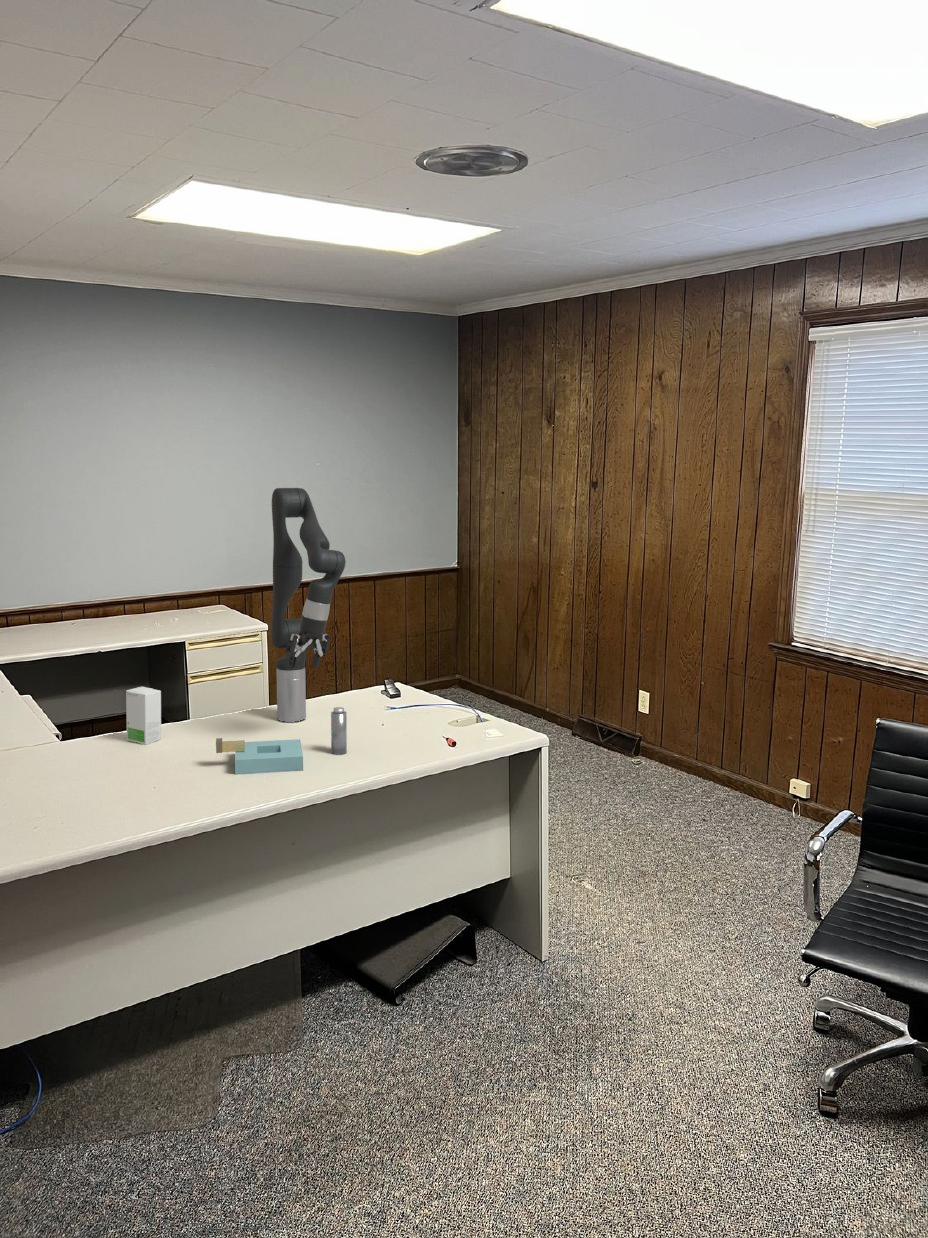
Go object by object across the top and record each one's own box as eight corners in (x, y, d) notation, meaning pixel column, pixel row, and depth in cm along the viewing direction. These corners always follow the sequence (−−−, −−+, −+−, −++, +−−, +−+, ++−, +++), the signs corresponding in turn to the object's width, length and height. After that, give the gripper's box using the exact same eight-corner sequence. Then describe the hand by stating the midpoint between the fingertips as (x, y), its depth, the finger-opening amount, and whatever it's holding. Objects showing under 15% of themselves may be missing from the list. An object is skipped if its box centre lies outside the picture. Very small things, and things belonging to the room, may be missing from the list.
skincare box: (126, 741, 271) (123, 690, 268) (143, 735, 277) (141, 685, 274) (146, 745, 267) (144, 694, 265) (163, 739, 273) (161, 689, 270)
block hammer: (216, 749, 251) (216, 738, 250) (244, 748, 253) (244, 737, 252) (216, 753, 248) (215, 741, 247) (244, 751, 249) (244, 740, 249)
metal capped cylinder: (330, 750, 265) (330, 707, 263) (345, 749, 266) (345, 706, 264) (332, 755, 261) (331, 710, 259) (347, 754, 262) (347, 710, 260)
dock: (236, 755, 259) (236, 742, 258) (300, 752, 263) (300, 739, 262) (235, 774, 243) (235, 760, 243) (303, 770, 248) (303, 756, 247)
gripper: (325, 612, 273) (314, 662, 276) (288, 611, 262) (276, 663, 265) (341, 619, 269) (329, 671, 272) (304, 619, 258) (292, 672, 261)
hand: (303, 667), depth 269 cm, fingers open, 8 cm apart
